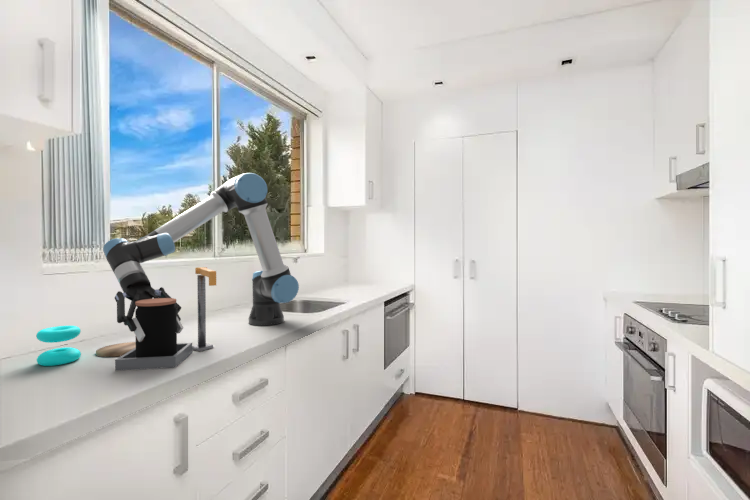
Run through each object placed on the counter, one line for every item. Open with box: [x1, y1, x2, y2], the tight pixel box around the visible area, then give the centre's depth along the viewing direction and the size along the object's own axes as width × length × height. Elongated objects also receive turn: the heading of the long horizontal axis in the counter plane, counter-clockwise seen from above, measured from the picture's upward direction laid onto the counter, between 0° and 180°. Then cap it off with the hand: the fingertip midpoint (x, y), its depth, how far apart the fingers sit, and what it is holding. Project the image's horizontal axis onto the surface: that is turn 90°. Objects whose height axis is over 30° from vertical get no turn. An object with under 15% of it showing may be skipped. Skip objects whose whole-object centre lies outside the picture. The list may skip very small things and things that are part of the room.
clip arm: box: [194, 266, 217, 287], centre depth 117 cm, size 22×4×4 cm, turn 34°
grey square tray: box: [114, 342, 193, 372], centre depth 112 cm, size 15×15×3 cm
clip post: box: [192, 274, 214, 352], centre depth 125 cm, size 5×5×24 cm
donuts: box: [36, 325, 82, 367], centre depth 111 cm, size 10×10×10 cm
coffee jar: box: [134, 297, 178, 358], centre depth 112 cm, size 11×11×18 cm
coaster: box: [95, 341, 136, 358], centre depth 123 cm, size 15×15×1 cm
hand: (162, 334), depth 110 cm, fingers closed on coffee jar, 11 cm apart
